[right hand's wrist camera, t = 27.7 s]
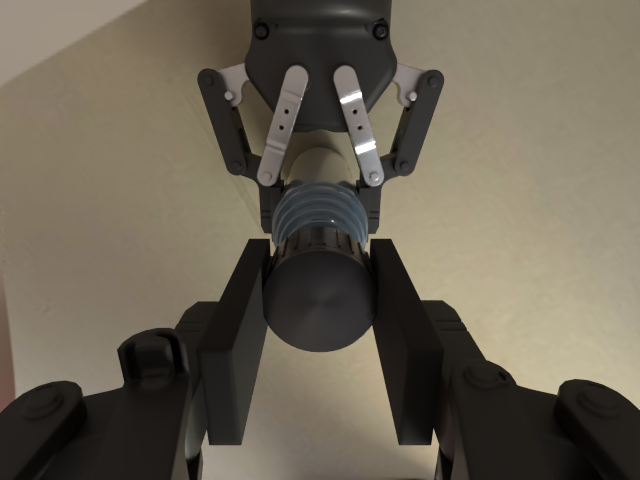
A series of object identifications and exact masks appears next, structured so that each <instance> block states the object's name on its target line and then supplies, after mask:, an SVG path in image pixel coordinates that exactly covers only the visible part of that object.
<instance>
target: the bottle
mask: <svg viewBox="0 0 640 480" xmlns="http://www.w3.org/2000/svg"><path fill="white" fill-rule="evenodd" d="M309 226H312V227H317V226H325V227H331V228H335V229H336V228H339V230H341V231H343V232H345V233H347V234H351V236H352V237H353V238H354V239H356V240H357V241H358V242H359V241H360V243H361V246H362V247H363V249H364V248H365V245H366V242H367V234H368V220H367V216H366V212H365V210H364V207H363V204H362V202H361V199H360V196H359V194H358V191H357V188H356V186H355V183H354V181H353V178H352V175H351V173H350V170H349V167H348V165H347V163H346V161H345V160H344V158H343V157H342V156H341V155H340V154H339V153H337V152H336V151H334V150H332V149H329V148H325V147H315V148H311V149H308V150H306V151H304V152H303V153H301V154H300V155H299V156H298V157H297V158H296V160H295V161H294V163H293V165H292V168H291V170H290V173H289V176H288V178H287V181H286V184H285V186H284V189H283V192H282V194H281V197H280V200H279V202H278V205H277V207H276V210H275V213H274V216H273V221H272V232H273V241H274V245H275V248H276V246H277V245H278V246H279V245H280V244H281V243H282V241H283V240H285V237H286V236H287V237H288V236H290V235H291V234H293V233H295V232H296V230H302V229H305V228H309Z"/></svg>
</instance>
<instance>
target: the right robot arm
mask: <svg viewBox="0 0 640 480" xmlns="http://www.w3.org/2000/svg"><path fill="white" fill-rule="evenodd" d="M270 257H271V256H270V239H249V240H248V243H247V245H246V247H245V249H244V251H243V253H242V255H241V257H240V259H239V261H238V263H237V265H236V267H235V270H234V272H233V274H232V276H231V278H230V280H229V282H228V284H227V286H226V288H225V290H224V292H223V294H222V296H221V299H220V301H219V302H197V303H196V304H194V305H193V306H191V307H190V308H189V309H187V310H186V311H185V313H184V314H183V316H182V317H181V319H180V321H179V323H178V324H177V326H176V327H175V329H171V328H155V329H150V330H145V331H143V332H140V333H138V334H135V335H133V336H132V337H130V338H129V339H127V340H126V341H124V342H123V343H122V344H121V346H120V347H119V348H118V349H117V352H118V356H119V360H120V365H121V369H122V373H123V378H124V385H123V387H121V388H118V389H115V390H111V391H107V392H102V393H98V394H93V395H89V396H83V393H82V389H81V387H80V386H78V385H77V384H76V383H74V382H69V381H57V382H51V383H47V384H44V385H41V386H38V387H36V388H34V389H32V390H30V391H28V392H26V393H24V394H22V395H21V396H19V397H18V398H17V399H15V400H14V401H13V402H12V403H10V404H9V405H8V406H7V407H6V408H5V409H4V410H3V411H2V412H1V413H0V480H201V478H202V469H203V457H202V450H201V445H202V442H203V439H204V436H205V433H206V430H207V433H208V440H209V445H241V444H242V439H243V435H244V430H245V426H246V421H247V417H248V412H249V408H250V403H251V399H252V394H253V390H254V385H255V381H256V377H257V372H258V368H259V363H260V359H261V354H262V350H263V345H264V341H265V336H266V332H267V327H268V323H267V322H266V319H265V317H264V314H263V301H262V290H263V286H264V283H265V280H266V279H265V278H264V277H265V274H266V270H267V267H268V264H269V260H270ZM370 262H371V265H372V269H373V272H374V277H375V280H376V286H377V290H378V306H377V315H376V318H375V320H374V322H373V324H372V326H373V331H374V335H375V340H376V344H377V349H378V353H379V357H380V362H381V366H382V371H383V375H384V380H385V384H386V389H387V393H388V398H389V402H390V407H391V411H392V416H393V420H394V425H395V429H396V434H397V438H398V443H399V445H431V442H432V435H433V427H434V430H435V433H436V436H437V439H438V442H439V450H438V457H437V464H436V470H435V477H434V480H640V410H639V409H638V408H637V407H636V406H635V405H634V404H632V403H631V402H630V401H629V400H628V399H626V398H625V397H624V396H622V395H621V394H620V393H618V392H617V391H615V390H613V389H611V388H609V387H607V386H605V385H602V384H599V383H596V382H592V381H589V380H580V379H573V380H568V381H565V382H564V383H563V384H562V385H561V386H560V387H559V390H558V394H557V395H554V394H550V393H545V392H541V391H536V390H532V389H528V388H524V387H521V386H518V385H517V384H516V382H515V380H514V379H513V377H512V376H511V374H510V373H509V372H507V371H506V370H505V369H503V368H502V367H501V366H499V365H497V364H495V363H492V362H490V361H487V360H486V359H485V357H484V356H483V354H482V353H481V351H480V349H479V348H478V346H477V345H476V343H475V341H474V340H473V338H472V336H471V335H470V333H469V332H468V331H467V328H466V327H465V325H464V324H463V322H461V319H460V317H459V315H458V314H457V312H456V311H455V309H453V308H452V307H451V306H449V305H448V304H447V303H445V302H444V301H442V300H420V298H419V296H418V294H417V292H416V290H415V288H414V286H413V283H412V281H411V279H410V277H409V275H408V273H407V271H406V269H405V267H404V265H403V263H402V261H401V259H400V257H399V254H398V252H397V250H396V248H395V246H394V244H393V242H392V240H391V239H371V241H370Z"/></svg>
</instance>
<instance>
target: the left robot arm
mask: <svg viewBox="0 0 640 480" xmlns="http://www.w3.org/2000/svg"><path fill="white" fill-rule="evenodd" d="M250 1H251V19H252V40H251V45H250V48H249V51H248V53H247V55H246V57H245V63H242V64H238V65H234V66H231V67H227V68H224V69H220V70H213V69H203V70H202V71H200V73H199V74H198V78H197V80H198V85H199V87H200V90H201V93H202V96H203V99H204V102H205V105H206V108H207V111H208V114H209V117H210V120H211V123H212V126H213V129H214V132H215V135H216V138H217V141H218V144H219V147H220V150H221V152H222V155H223V158H224V161H225V164H226V167H227V170H228V171H229V172H230V173H231V174H233V175H242V176H245V177H248V178H250V179H252V180H254V181H255V182H256V183H257V185H258V187H259V196H260V214H261V227H262V229H263V231H264V233H272V242H274V241H273V232H272V221H273V216H274V213H275V210H276V207H277V205H278V202H279V200H280V197H281V194H282V192H283V189H284V180H281V176H280V172H281V169H282V166H283V163H284V160H285V157H286V154H287V151H288V147H289V145H290V142H291V139H292V136H293V133H294V132H309V131H313V130H317V129H325V130H328V131H332V132H348V135H349V138H350V141H351V144H352V147H353V150H354V153H355V156H356V159H357V163H358V166H359V169H360V180H356V188H357V191H358V194H359V196H360V199H361V202H362V204H363V207H364V210H365V212H366V216H367V220H368V234H375V233H376V231H377V229H378V227H379V215H380V199H381V188H382V186H383V184H384V183H385V182H386V181H387V180H389V179H391V178H394V177H397V176H408V175H410V174H411V173H412V172H413V171H414V168H415V165H416V163H417V160H418V157H419V154H420V151H421V148H422V145H423V142H424V139H425V136H426V134H427V131H428V128H429V125H430V122H431V119H432V116H433V113H434V110H435V107H436V104H437V102H438V99H439V96H440V93H441V90H442V87H443V84H444V77H443V75H442V73H441V72H440V71H438V70H427V71H423V70H420V69H416V68H413V67H409V66H406V65H402V64H399V63H397V58H396V55H395V53H394V51H393V49H392V46H391V41H390V19H391V3H392V0H250ZM249 81H251V83H252V84H253V85H254V87H255V88H256V90H257V91H258V92H259V94H260V95H261V96H262V98H263V99H264V101H265V102H266V103H267V105H268V106H269V107H270V109H271V110H272V112H273V113H274V117H273V120H272V123H271V127H270V130H269V133H268V137H267V140H266V146H265V149H264V153H263V156H262V157H260V156H258V155H255V154H252V152H251V149H250V146H249V143H248V140H247V136H246V133H245V130H244V127H243V123H242V120H241V117H240V114H239V111H238V107H237V106H239V105H241V104H242V103H243V101H244V98H245V94H244V88H245V85H246V84H247V83H248V82H249ZM391 81H392V82H394V83H395V85H396V86H397V100H398V102H399V104H400V105H402V106H404V109H403V112H402V115H401V119H400V122H399V125H398V128H397V131H396V134H395V138H394V141H393V144H392V147H391V150H390V153H389V154H387V155H384V156H382V157H379V155H378V152H377V148H376V143H375V139H374V135H373V132H372V129H371V125H370V122H369V118H368V115H367V114H368V113H369V111H370V110H371V108H372V107H373V106H374V104H375V103H376V102H377V100H378V99H379V98H380V96H381V95H382V94H383V92H384V91H385V89H386V88H387V87H388V85H389V84H390V83H391ZM368 234H367V242H368Z"/></svg>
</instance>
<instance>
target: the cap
mask: <svg viewBox="0 0 640 480" xmlns="http://www.w3.org/2000/svg"><path fill="white" fill-rule="evenodd" d="M264 278H265V279H266V280H265V283H264V286H263V290H262V301H263V314H264V317H265V319H266V322H267V323H268V325H269V327H270V328H271V329H272V331H273V332H274V333H275V334H276V335H277V336H278V337H279V338H280V339H282V340H283V341H284V342H286V343H288V344H289V345H291V346H294V347H296V348H298V349H302V350H305V351H311V352H329V351H335V350H338V349H342V348H344V347H347V346H349V345H351V344H353V343H354V342H356V341H357V340H359V339H360V338H361V337H362V336H363V335H364V334H365V333H366V332H367V331H368V330H369V328H370V327H371V325H372V324H373V322H374V320H375V318H376V315H377V306H378V290H377V286H376V280H375V277H374V272H373V269H372V265H371V262H370V259H369V255H368V252H365V250H364V249H363V247H362V246H361V243H360V241H359V242H358V241H357V240H356V239H354V238H353V237H352V236H351V234H347V233H345V232H343V231H341V230H339V228H336V229H335V228H331V227H325V226H317V227H312V226H309V228H305V229H302V230H296V232H295V233H293V234H291V235H290V236H288V237H287V236H286V237H285V240H283V241H282V243H281V244H280V245H279V246H278V245H277V246H276V249H275V252H274V254H273V256H271V257H270V260H269V264H268V267H267V270H266V274H265V277H264Z"/></svg>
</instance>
